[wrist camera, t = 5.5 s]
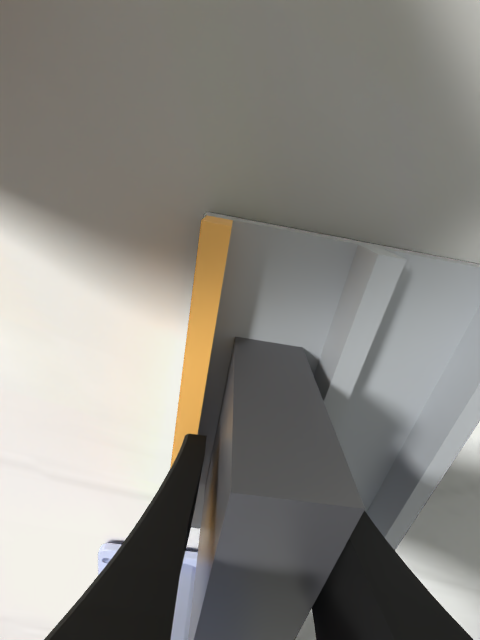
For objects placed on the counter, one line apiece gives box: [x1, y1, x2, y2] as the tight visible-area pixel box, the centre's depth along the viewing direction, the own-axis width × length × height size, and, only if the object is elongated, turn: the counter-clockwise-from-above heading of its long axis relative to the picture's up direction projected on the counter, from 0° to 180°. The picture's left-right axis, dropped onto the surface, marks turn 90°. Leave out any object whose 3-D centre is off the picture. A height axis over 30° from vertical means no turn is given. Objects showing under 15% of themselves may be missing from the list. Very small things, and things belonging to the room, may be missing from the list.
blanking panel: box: [188, 337, 365, 640], centre depth 10 cm, size 8×2×6 cm, turn 170°
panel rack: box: [170, 212, 480, 551], centre depth 12 cm, size 15×10×2 cm
